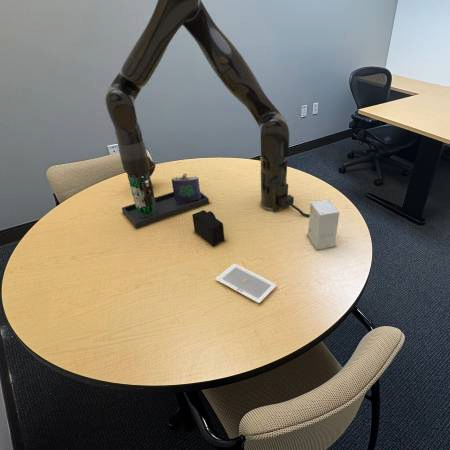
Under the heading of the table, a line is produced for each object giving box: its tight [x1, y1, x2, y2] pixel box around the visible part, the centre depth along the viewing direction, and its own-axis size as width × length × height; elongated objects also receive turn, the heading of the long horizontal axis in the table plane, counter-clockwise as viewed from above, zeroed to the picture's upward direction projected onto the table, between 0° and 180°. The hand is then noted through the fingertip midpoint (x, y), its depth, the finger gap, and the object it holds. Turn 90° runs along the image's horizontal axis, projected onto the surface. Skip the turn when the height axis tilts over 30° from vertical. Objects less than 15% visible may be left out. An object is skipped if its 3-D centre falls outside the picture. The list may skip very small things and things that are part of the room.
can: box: [127, 170, 158, 218], centre depth 111 cm, size 6×6×15 cm
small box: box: [307, 199, 340, 251], centre depth 105 cm, size 8×6×13 cm
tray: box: [121, 191, 210, 230], centre depth 119 cm, size 12×26×2 cm, turn 133°
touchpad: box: [214, 262, 278, 304], centre depth 90 cm, size 8×15×2 cm, turn 58°
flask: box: [171, 173, 201, 203], centre depth 120 cm, size 9×3×11 cm, turn 105°
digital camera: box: [191, 209, 225, 247], centre depth 105 cm, size 10×5×7 cm, turn 47°
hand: (145, 201), depth 112 cm, fingers closed on can, 6 cm apart
